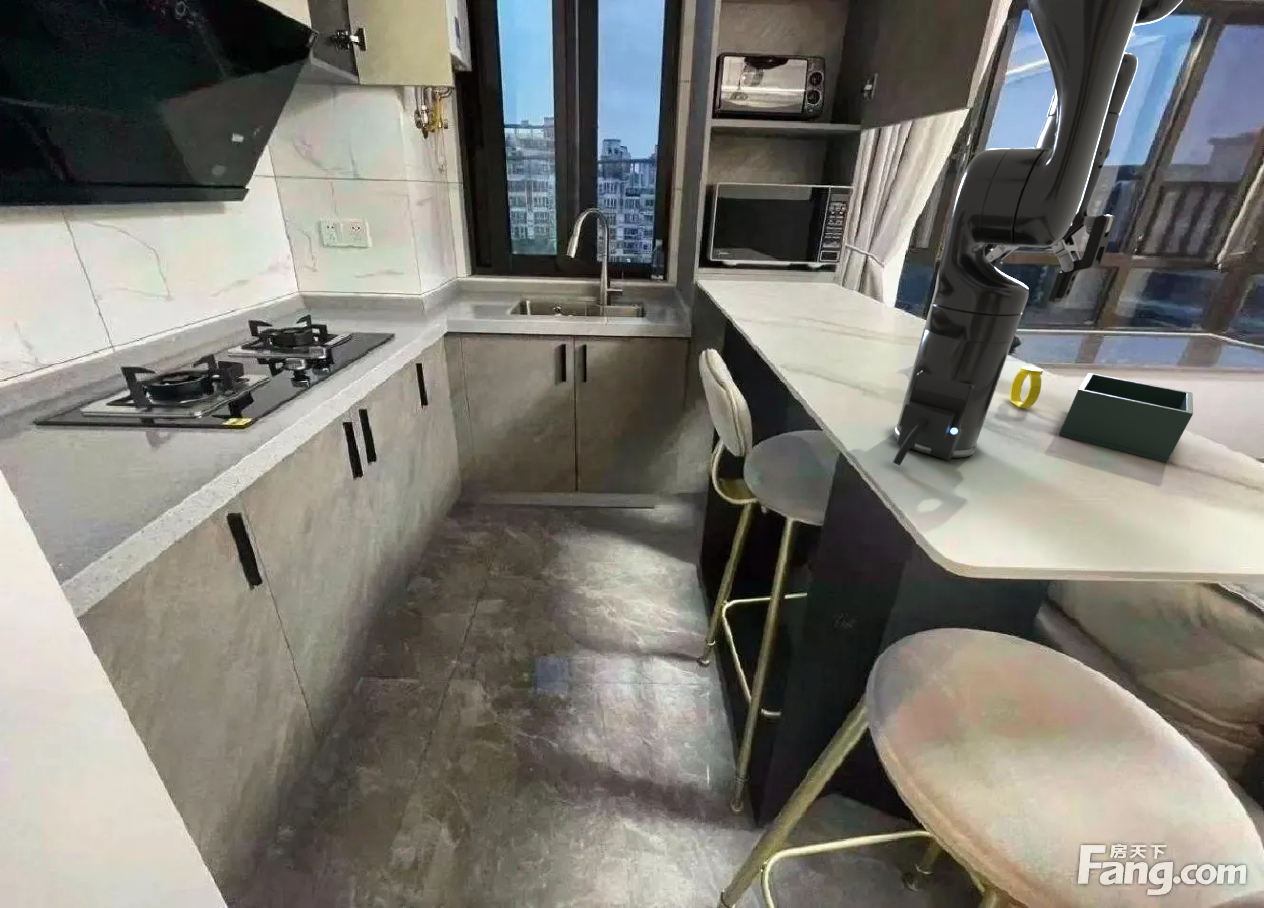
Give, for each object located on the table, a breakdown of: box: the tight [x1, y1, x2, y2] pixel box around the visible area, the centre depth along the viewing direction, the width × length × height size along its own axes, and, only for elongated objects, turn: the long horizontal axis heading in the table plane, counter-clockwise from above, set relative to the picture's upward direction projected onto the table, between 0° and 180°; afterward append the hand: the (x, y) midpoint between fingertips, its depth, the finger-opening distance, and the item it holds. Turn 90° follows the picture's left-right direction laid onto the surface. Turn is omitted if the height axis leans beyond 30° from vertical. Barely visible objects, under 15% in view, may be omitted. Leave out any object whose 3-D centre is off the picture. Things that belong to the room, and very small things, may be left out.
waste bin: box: [1058, 372, 1194, 463], centre depth 73 cm, size 11×11×7 cm
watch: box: [1009, 365, 1044, 409], centre depth 83 cm, size 6×3×6 cm, turn 168°
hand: (1019, 295), depth 73 cm, fingers open, 8 cm apart
